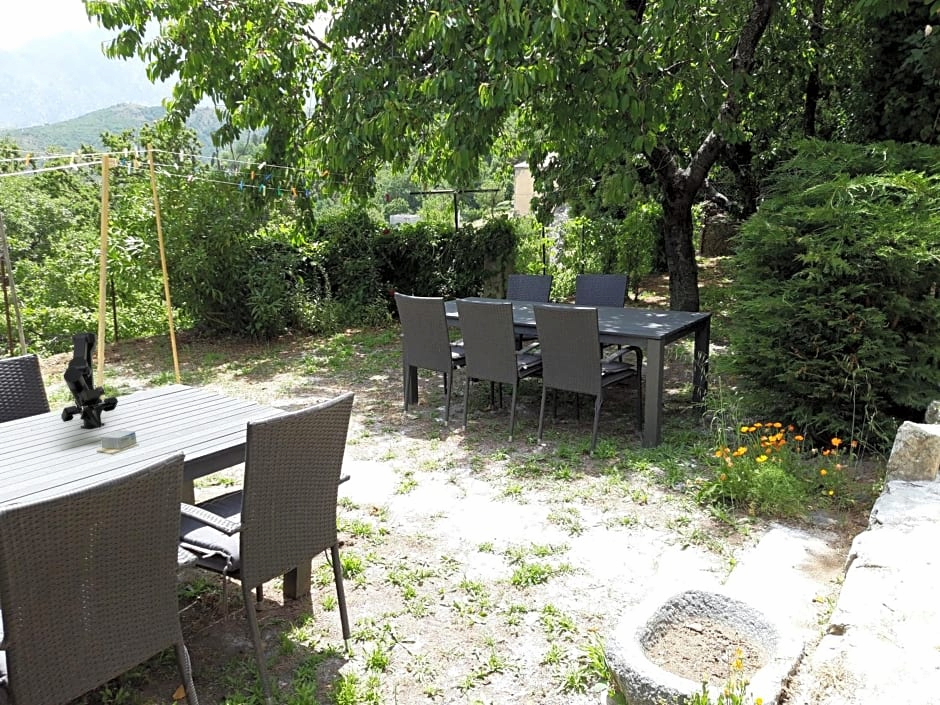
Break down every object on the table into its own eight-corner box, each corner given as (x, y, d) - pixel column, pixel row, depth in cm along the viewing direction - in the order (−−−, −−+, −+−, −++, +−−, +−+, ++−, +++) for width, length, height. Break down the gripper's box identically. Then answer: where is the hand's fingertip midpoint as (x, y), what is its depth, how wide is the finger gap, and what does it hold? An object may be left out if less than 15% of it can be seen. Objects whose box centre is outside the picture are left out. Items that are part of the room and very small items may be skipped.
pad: (96, 452, 247) (96, 450, 247) (123, 442, 257) (123, 441, 257) (112, 454, 244) (111, 453, 243) (138, 445, 253) (138, 443, 253)
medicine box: (101, 448, 250) (120, 450, 247) (99, 436, 249) (118, 438, 246) (118, 441, 257) (137, 443, 254) (117, 429, 256) (135, 431, 253)
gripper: (60, 386, 247) (78, 420, 243) (112, 375, 262) (131, 408, 258) (53, 404, 254) (71, 438, 249) (104, 393, 268) (123, 425, 264)
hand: (100, 426), depth 255 cm, fingers closed
